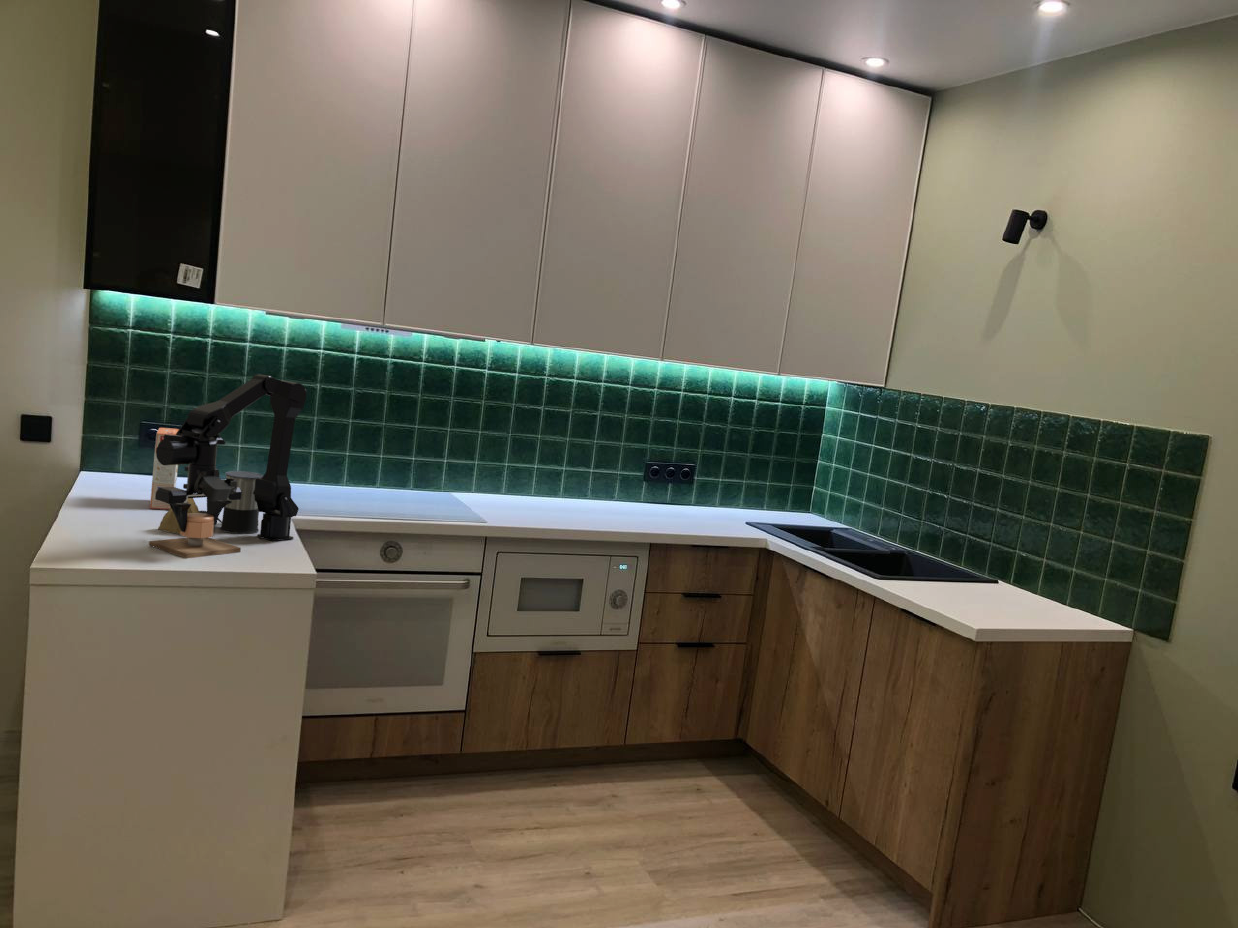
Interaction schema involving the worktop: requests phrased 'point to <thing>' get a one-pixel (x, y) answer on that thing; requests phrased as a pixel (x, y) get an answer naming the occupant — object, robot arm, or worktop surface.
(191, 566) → the worktop surface
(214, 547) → the wooden peg board
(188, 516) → the cap
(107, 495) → the worktop surface
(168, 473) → the cracker box
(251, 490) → the milk frother
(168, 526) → the rock
